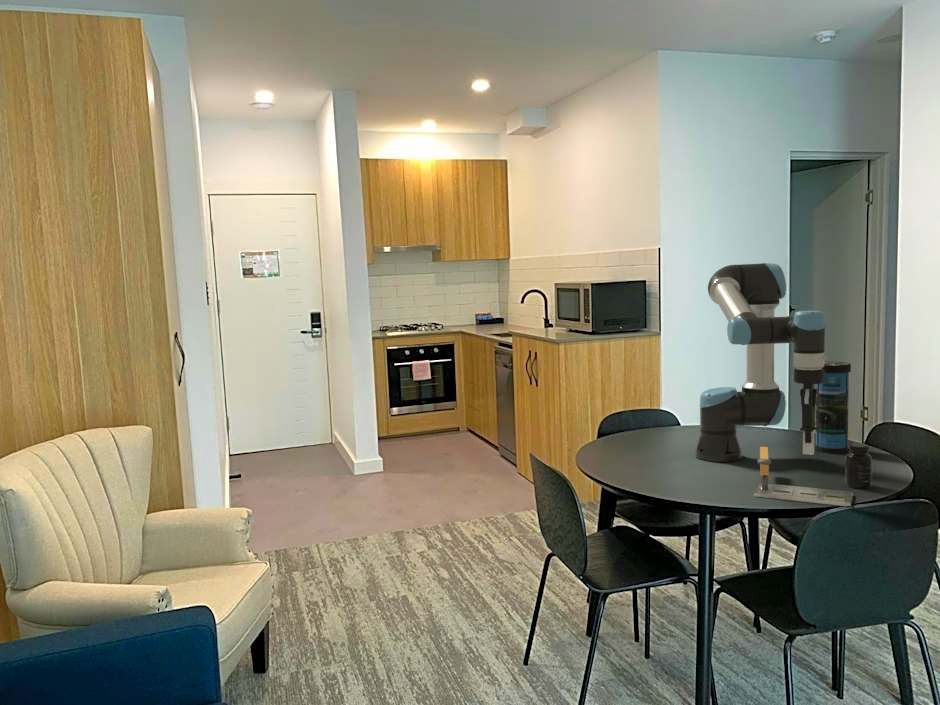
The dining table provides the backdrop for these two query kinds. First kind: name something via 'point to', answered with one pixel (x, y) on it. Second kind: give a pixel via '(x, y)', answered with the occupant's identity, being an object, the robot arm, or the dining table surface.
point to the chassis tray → (802, 493)
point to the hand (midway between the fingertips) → (808, 453)
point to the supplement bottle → (858, 467)
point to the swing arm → (764, 461)
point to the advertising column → (833, 408)
